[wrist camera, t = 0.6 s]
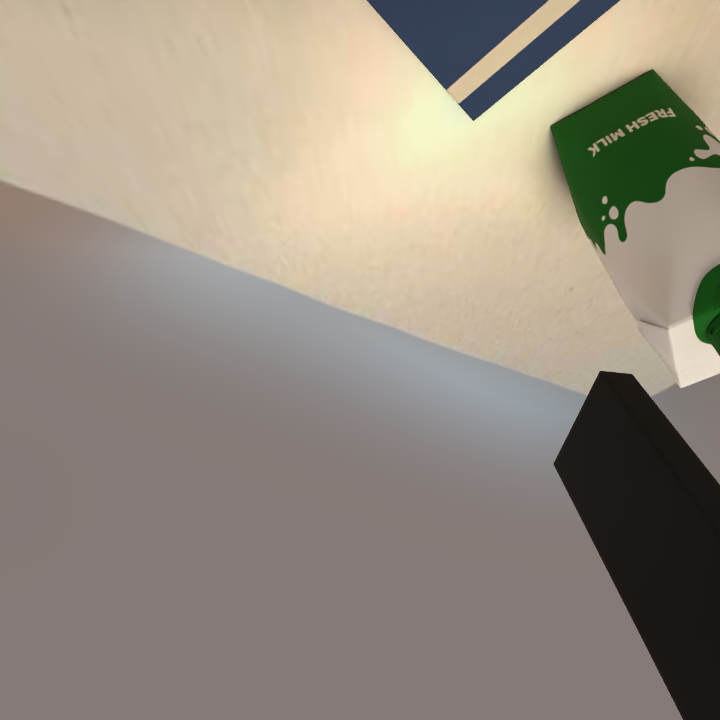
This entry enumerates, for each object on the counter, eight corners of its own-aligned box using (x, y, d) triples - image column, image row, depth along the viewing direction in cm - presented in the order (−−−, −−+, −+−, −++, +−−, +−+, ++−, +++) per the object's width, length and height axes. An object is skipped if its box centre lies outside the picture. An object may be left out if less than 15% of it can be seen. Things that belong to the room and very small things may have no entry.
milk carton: (665, 48, 38) (876, 281, 27) (678, 149, 45) (849, 367, 34) (533, 123, 41) (673, 363, 29) (564, 207, 48) (687, 427, 36)
